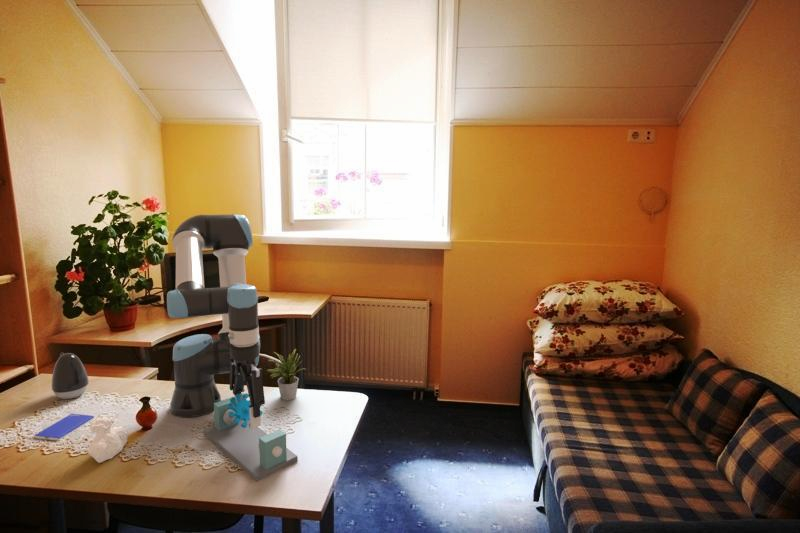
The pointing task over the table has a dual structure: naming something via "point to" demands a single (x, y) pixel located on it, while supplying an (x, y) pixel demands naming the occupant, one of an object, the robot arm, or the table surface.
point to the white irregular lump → (106, 439)
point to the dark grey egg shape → (69, 377)
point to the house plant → (287, 377)
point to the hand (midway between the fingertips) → (247, 421)
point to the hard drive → (64, 427)
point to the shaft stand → (249, 444)
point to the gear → (240, 409)
